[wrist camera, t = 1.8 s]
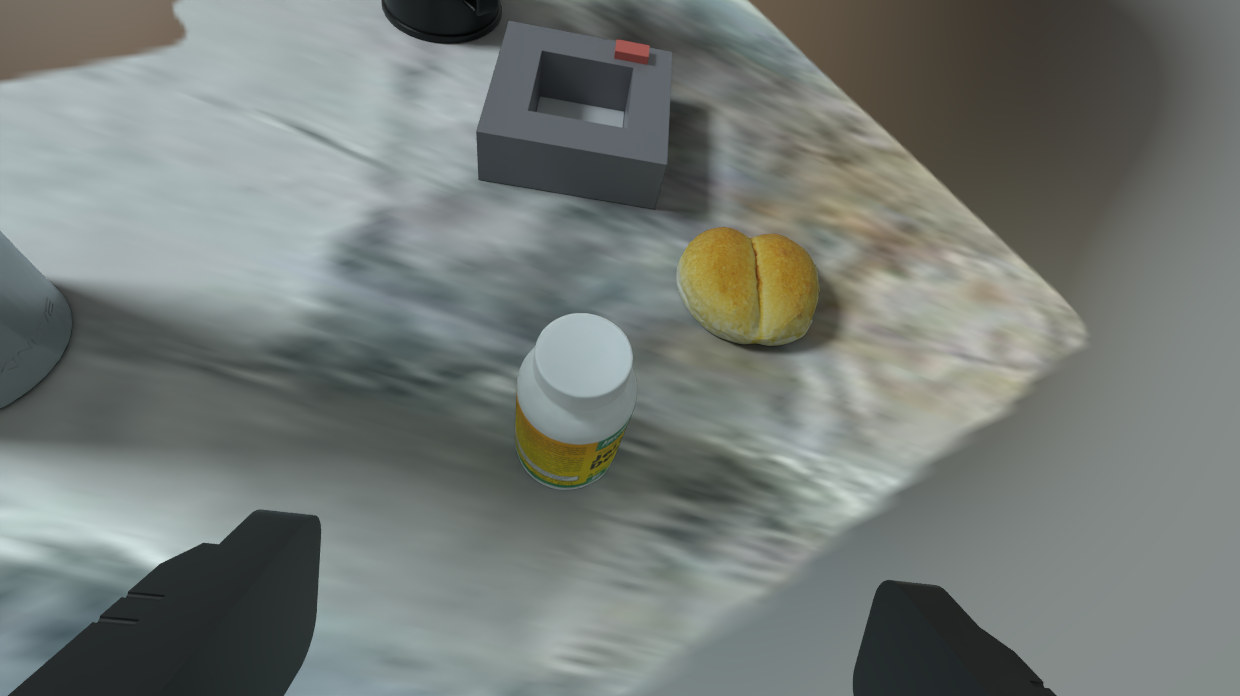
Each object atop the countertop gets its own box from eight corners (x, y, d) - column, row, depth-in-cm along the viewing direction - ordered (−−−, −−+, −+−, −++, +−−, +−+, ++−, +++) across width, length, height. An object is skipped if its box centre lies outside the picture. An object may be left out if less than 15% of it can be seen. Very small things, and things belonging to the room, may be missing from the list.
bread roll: (674, 238, 43) (688, 195, 39) (801, 259, 43) (826, 219, 40) (671, 341, 38) (687, 303, 35) (812, 361, 39) (841, 326, 36)
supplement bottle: (540, 384, 35) (551, 279, 27) (629, 421, 35) (668, 326, 27) (496, 468, 32) (493, 379, 24) (592, 510, 32) (623, 434, 24)
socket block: (478, 179, 42) (476, 123, 38) (508, 70, 49) (508, 12, 45) (654, 209, 43) (669, 157, 39) (661, 98, 50) (674, 44, 46)
